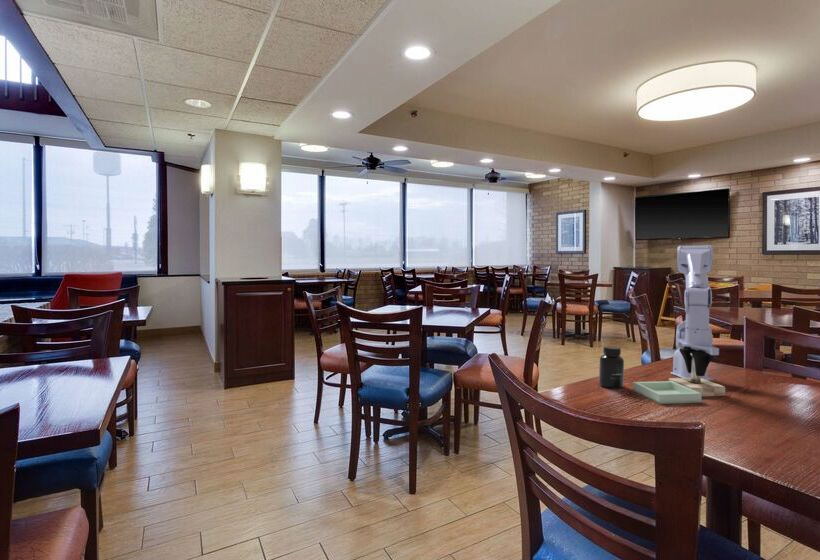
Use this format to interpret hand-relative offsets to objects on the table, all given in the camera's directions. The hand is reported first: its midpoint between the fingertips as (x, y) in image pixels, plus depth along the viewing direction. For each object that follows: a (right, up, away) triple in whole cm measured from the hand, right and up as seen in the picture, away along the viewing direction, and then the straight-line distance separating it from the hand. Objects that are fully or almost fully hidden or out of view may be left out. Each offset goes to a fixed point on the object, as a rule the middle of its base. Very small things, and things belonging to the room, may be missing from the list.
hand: (695, 374), depth 127 cm
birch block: (0, -5, 0) cm, 5 cm away
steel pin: (0, -3, 0) cm, 3 cm away
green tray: (-12, -5, -5) cm, 14 cm away
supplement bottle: (-22, -5, +6) cm, 24 cm away
